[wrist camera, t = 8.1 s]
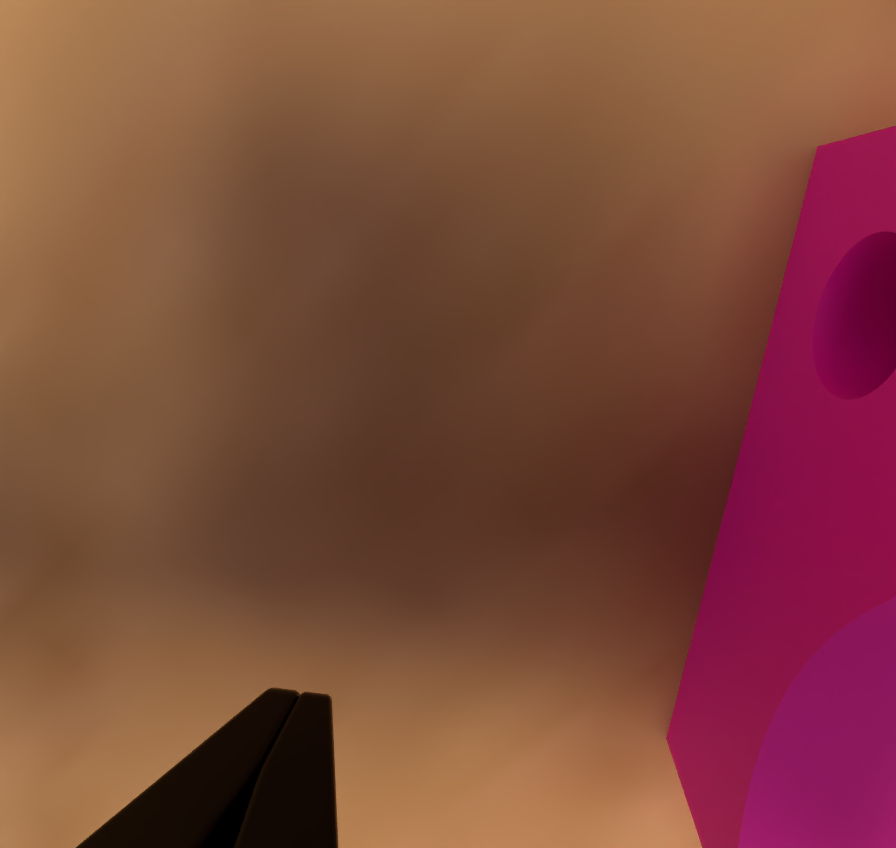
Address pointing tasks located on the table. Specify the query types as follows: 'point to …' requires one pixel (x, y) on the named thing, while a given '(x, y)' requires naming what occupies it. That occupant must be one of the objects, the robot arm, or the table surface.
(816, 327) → the toy block
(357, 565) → the table surface
